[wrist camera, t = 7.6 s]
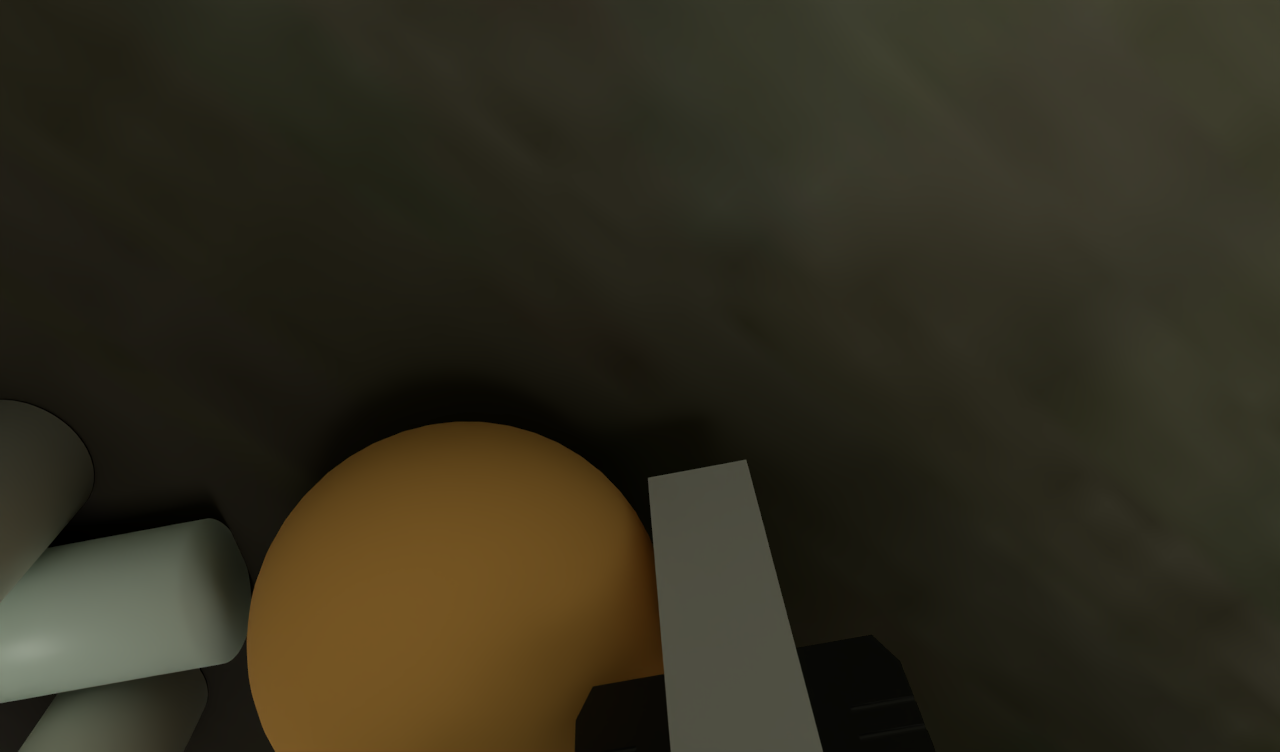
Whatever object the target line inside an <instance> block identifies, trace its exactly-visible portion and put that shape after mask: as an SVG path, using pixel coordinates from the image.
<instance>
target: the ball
mask: <svg viewBox="0 0 1280 752" xmlns="http://www.w3.org/2000/svg"><path fill="white" fill-rule="evenodd" d="M247 662H248V674H249V681H250V687H251V692H252V696H253V700H254V703H255V706H256V709H257V712H258V715H259V718H260V721H261V724H262V727H263V729H264V731H265V734H266V736H267V737H268V739H269V741H270V743H271V745H272V747H273V749H274V750H275V752H575V723H576V719H577V717H578V715H579V713H580V711H581V709H582V707H583V705H584V703H585V701H586V699H587V697H588V695H589V693H590V691H591V689H592V687H593V686H598V685H604V684H609V683H615V682H621V681H627V680H632V679H638V678H644V677H649V676H655V675H661V674H664V665H663V653H662V641H661V629H660V617H659V605H658V593H657V582H656V570H655V558H654V547H653V545H652V542H651V540H650V537H649V535H648V533H647V531H646V529H645V528H644V526H643V524H642V522H641V521H640V519H639V517H638V515H637V513H636V512H635V510H634V509H633V508H632V506H631V505H630V504H629V502H628V501H627V500H626V498H625V497H624V496H623V494H622V493H621V492H620V491H619V490H618V489H617V488H616V487H615V485H614V484H613V483H612V482H611V481H610V480H609V479H608V478H607V477H606V476H605V475H604V474H603V473H602V472H601V471H599V470H598V469H597V468H595V467H594V466H593V465H592V464H590V463H589V462H588V461H587V460H585V459H584V458H583V457H581V456H580V455H578V454H576V453H575V452H573V451H571V450H570V449H568V448H566V447H565V446H563V445H561V444H560V443H557V442H555V441H553V440H550V439H548V438H546V437H543V436H541V435H539V434H536V433H534V432H530V431H527V430H523V429H519V428H516V427H512V426H508V425H501V424H494V423H487V422H449V423H440V424H432V425H427V426H423V427H419V428H415V429H411V430H407V431H403V432H401V433H398V434H396V435H393V436H391V437H388V438H386V439H383V440H381V441H378V442H376V443H373V444H372V445H370V446H368V447H366V448H364V449H363V450H361V451H359V452H357V453H355V454H354V455H352V456H350V457H349V458H347V459H346V460H344V461H343V462H342V463H340V464H339V465H338V466H336V467H335V468H334V469H332V470H331V471H330V472H328V473H327V474H326V475H325V476H324V477H323V478H322V479H321V480H320V481H319V482H318V483H317V484H316V485H315V486H314V487H313V488H312V489H311V490H310V491H309V492H308V493H307V494H306V495H305V496H304V497H303V498H302V499H301V500H300V502H299V503H298V504H297V505H296V507H295V508H294V509H293V511H292V512H291V513H290V514H289V516H288V517H287V518H286V520H285V521H284V523H283V525H282V526H281V528H280V530H279V531H278V533H277V535H276V537H275V538H274V540H273V542H272V544H271V545H270V547H269V550H268V552H267V554H266V556H265V559H264V562H263V564H262V567H261V570H260V572H259V575H258V578H257V580H256V583H255V587H254V590H253V595H252V599H251V605H250V611H249V619H248V630H247Z"/></svg>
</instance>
